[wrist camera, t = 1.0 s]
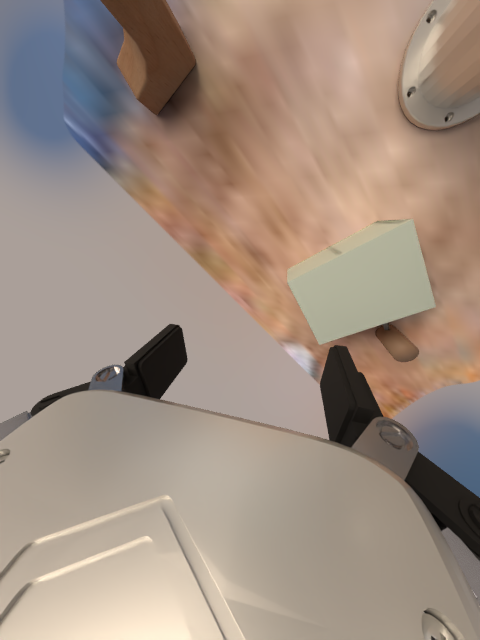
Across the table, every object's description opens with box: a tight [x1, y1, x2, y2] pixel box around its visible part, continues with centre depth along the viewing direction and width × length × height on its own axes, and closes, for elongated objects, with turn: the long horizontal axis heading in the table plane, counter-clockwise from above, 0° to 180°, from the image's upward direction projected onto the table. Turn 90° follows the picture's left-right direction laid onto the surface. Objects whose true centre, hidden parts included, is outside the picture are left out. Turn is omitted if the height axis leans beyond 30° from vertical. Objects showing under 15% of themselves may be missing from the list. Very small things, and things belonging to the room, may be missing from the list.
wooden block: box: [101, 0, 196, 115], centre depth 19 cm, size 9×4×18 cm, turn 122°
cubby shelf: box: [287, 219, 436, 345], centre depth 30 cm, size 15×12×10 cm
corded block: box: [376, 323, 419, 362], centre depth 31 cm, size 5×17×7 cm, turn 32°
